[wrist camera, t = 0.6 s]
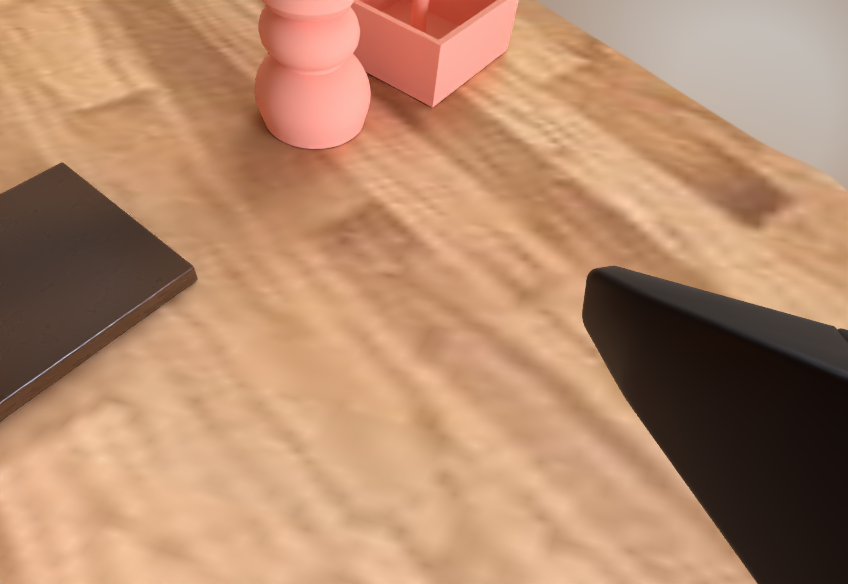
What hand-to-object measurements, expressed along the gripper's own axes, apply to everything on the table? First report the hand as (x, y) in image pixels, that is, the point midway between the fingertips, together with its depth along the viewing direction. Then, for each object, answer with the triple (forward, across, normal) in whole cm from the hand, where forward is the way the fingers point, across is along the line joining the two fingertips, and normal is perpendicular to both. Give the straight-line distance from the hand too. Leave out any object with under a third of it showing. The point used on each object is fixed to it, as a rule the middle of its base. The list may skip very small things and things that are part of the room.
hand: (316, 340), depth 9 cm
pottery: (+33, -8, +2) cm, 34 cm away
